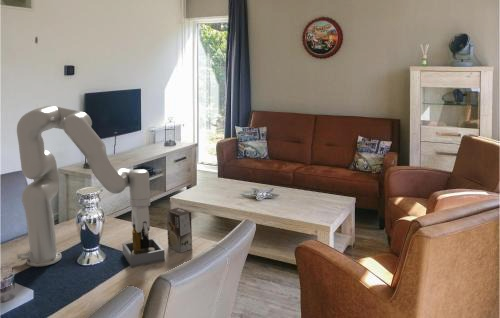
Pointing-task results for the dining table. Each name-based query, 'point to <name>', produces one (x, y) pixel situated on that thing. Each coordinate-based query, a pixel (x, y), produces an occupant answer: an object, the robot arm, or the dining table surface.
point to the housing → (144, 254)
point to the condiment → (138, 243)
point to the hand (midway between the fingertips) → (142, 244)
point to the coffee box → (179, 230)
